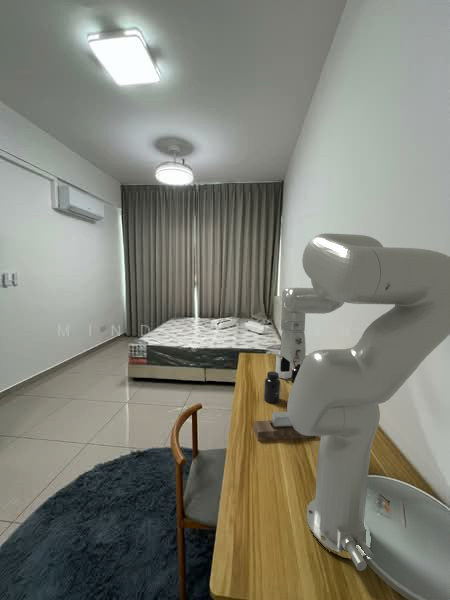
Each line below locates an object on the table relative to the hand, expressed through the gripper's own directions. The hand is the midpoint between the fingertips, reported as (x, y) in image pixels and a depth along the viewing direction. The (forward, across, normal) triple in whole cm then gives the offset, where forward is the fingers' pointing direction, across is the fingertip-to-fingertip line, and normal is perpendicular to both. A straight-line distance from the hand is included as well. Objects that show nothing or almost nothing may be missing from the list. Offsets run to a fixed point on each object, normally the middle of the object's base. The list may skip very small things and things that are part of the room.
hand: (290, 376), depth 81 cm
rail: (+21, +2, +1) cm, 21 cm away
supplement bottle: (+20, +25, -3) cm, 32 cm away
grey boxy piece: (+21, +2, +1) cm, 21 cm away
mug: (+20, +48, -17) cm, 54 cm away
